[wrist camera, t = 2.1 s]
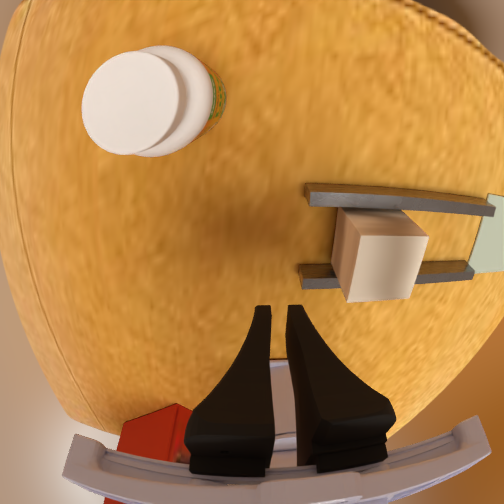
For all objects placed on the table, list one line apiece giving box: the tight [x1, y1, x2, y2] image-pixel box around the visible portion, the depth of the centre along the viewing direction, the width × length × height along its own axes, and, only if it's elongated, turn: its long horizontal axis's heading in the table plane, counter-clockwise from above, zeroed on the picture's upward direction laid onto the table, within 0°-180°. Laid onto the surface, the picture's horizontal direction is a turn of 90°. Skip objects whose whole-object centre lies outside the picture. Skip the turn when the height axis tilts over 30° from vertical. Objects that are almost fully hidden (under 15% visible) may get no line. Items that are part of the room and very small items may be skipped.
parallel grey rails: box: [299, 183, 496, 289], centre depth 20 cm, size 18×8×2 cm, turn 91°
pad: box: [468, 194, 504, 274], centre depth 21 cm, size 8×9×1 cm
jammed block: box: [331, 207, 429, 303], centre depth 19 cm, size 5×5×5 cm
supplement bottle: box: [82, 46, 226, 157], centre depth 12 cm, size 5×5×10 cm
